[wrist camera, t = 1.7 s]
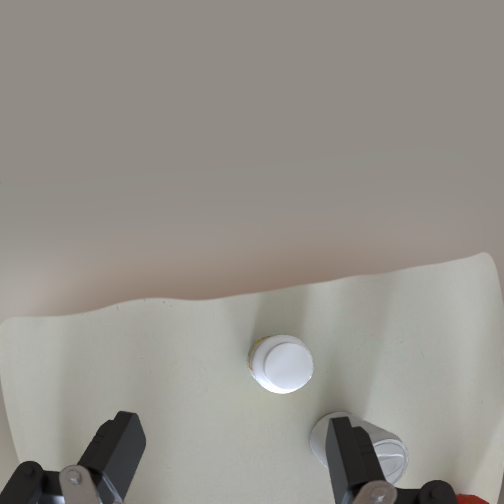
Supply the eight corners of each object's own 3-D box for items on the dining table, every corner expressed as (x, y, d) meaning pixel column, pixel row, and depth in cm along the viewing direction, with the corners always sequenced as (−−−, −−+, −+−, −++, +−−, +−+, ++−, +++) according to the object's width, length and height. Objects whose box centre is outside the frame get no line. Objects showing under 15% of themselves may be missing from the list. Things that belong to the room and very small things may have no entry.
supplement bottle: (303, 371, 32) (332, 380, 23) (258, 391, 31) (272, 410, 22) (283, 328, 33) (306, 322, 24) (239, 347, 32) (245, 350, 23)
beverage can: (306, 415, 31) (345, 447, 19) (358, 405, 31) (413, 426, 20) (308, 463, 29) (345, 508, 17) (359, 451, 29) (410, 485, 18)
